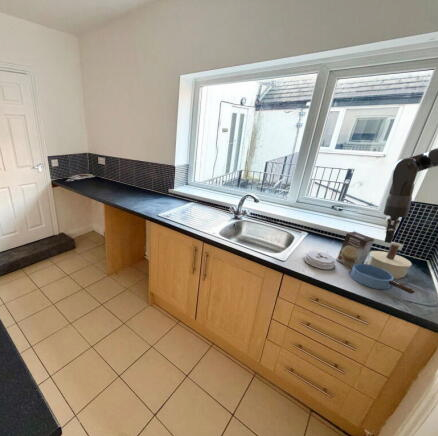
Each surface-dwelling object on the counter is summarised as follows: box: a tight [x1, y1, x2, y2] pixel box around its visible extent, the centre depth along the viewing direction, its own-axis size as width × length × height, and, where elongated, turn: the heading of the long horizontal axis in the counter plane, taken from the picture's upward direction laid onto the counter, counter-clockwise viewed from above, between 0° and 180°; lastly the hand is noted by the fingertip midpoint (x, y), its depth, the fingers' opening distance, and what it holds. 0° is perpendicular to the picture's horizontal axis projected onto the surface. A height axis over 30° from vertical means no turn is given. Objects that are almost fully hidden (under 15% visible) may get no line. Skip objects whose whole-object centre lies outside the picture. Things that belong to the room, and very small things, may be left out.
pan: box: [350, 263, 415, 294], centre depth 106 cm, size 21×14×4 cm, turn 22°
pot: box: [366, 255, 410, 280], centre depth 116 cm, size 14×14×6 cm
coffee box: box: [335, 231, 375, 269], centre depth 119 cm, size 9×6×16 cm
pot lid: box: [368, 243, 413, 268], centre depth 114 cm, size 15×15×8 cm
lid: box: [304, 250, 337, 270], centre depth 122 cm, size 13×13×5 cm
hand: (388, 240), depth 109 cm, fingers open, 8 cm apart
